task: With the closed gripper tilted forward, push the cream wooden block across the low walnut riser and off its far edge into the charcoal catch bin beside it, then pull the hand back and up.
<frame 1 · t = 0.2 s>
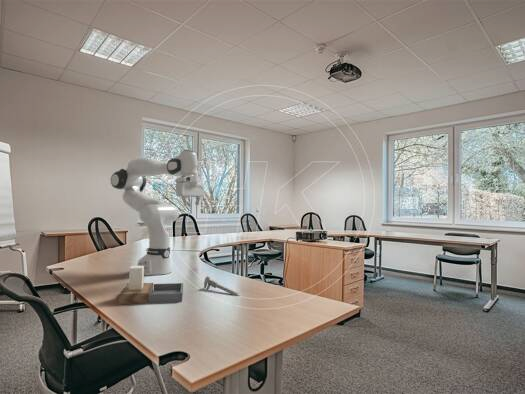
hand: (191, 205, 171), 39 cm above the table, tool pointing down, fingers open, 8 cm apart
block: (136, 288, 135), point 4 cm above the table, touching riser
caliper: (221, 292, 147), on the table
catch bin: (167, 296, 138), on the table
riser: (137, 297, 135), on the table
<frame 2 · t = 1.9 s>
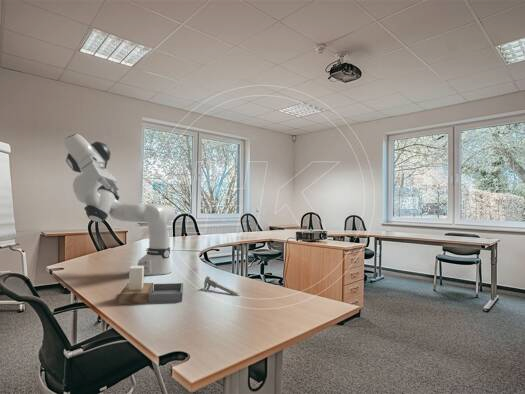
hand: (113, 189, 139), 46 cm above the table, tool tilted 40°, fingers open, 8 cm apart
nothing on the table moved.
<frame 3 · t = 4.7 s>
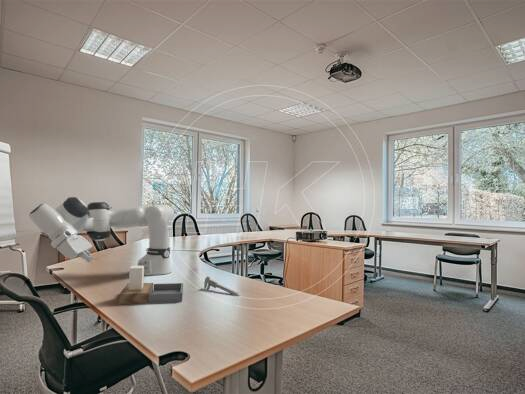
hand: (91, 260, 131), 16 cm above the table, tool tilted 45°, fingers closed
nothing on the table moved.
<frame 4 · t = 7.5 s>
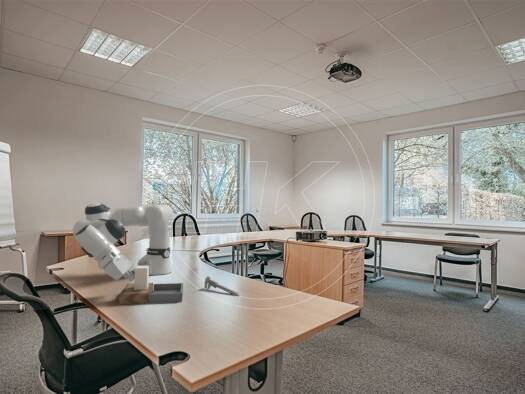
hand: (133, 279, 134), 8 cm above the table, tool tilted 45°, fingers closed, pressing on block
block: (141, 287, 135), point 4 cm above the table, touching gripper, riser
everything else where it was.
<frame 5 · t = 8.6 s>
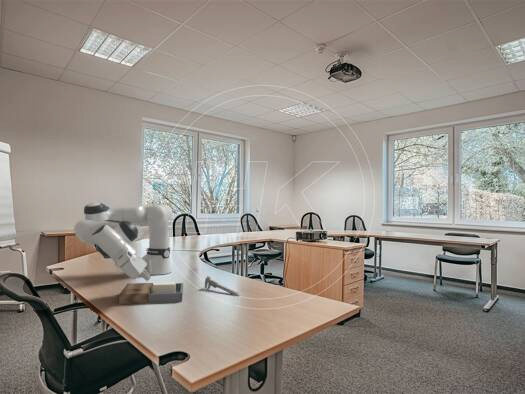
hand: (149, 279, 136), 8 cm above the table, tool tilted 45°, fingers closed
block: (153, 289, 136), point 3 cm above the table, tilted 90°, touching catch bin
everything else where it was.
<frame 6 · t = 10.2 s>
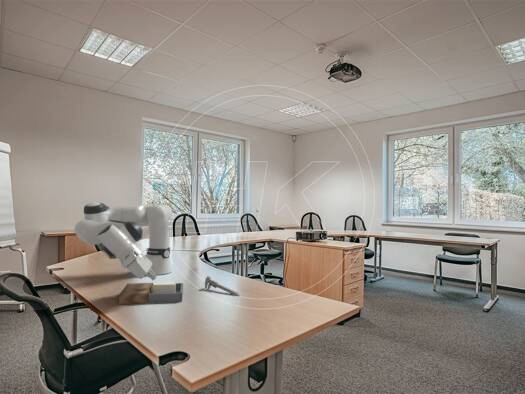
hand: (155, 278, 137), 8 cm above the table, tool tilted 45°, fingers closed
nothing on the table moved.
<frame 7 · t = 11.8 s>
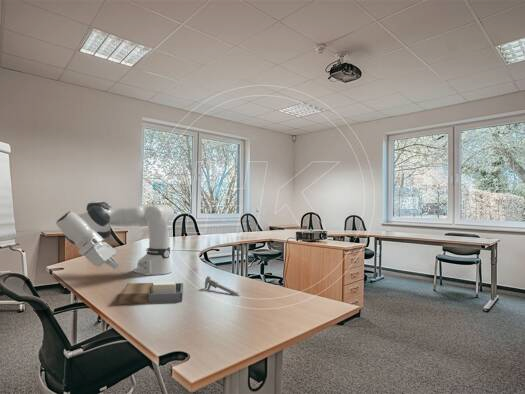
hand: (116, 267, 133), 13 cm above the table, tool tilted 45°, fingers closed
nothing on the table moved.
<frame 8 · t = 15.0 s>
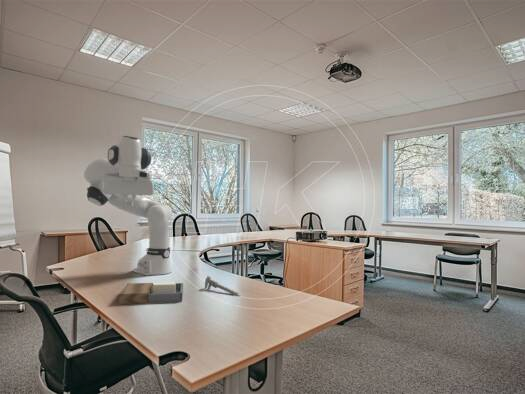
hand: (128, 205, 136), 39 cm above the table, tool pointing down, fingers closed
nothing on the table moved.
at the end: block 5.7 cm from the catch bin (horizontally); block touching catch bin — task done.
